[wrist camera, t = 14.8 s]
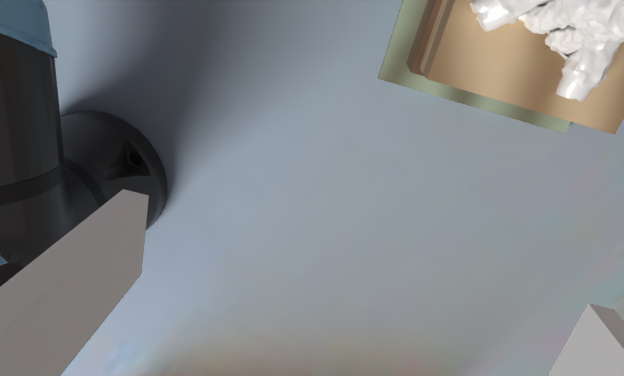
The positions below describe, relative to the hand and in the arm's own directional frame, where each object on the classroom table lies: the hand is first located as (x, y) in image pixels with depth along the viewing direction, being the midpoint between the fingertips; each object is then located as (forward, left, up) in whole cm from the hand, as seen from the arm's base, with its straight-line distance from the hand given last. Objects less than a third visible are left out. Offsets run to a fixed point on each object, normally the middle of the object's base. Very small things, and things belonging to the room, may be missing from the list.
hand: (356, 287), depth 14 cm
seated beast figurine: (+9, +11, -21) cm, 25 cm away
